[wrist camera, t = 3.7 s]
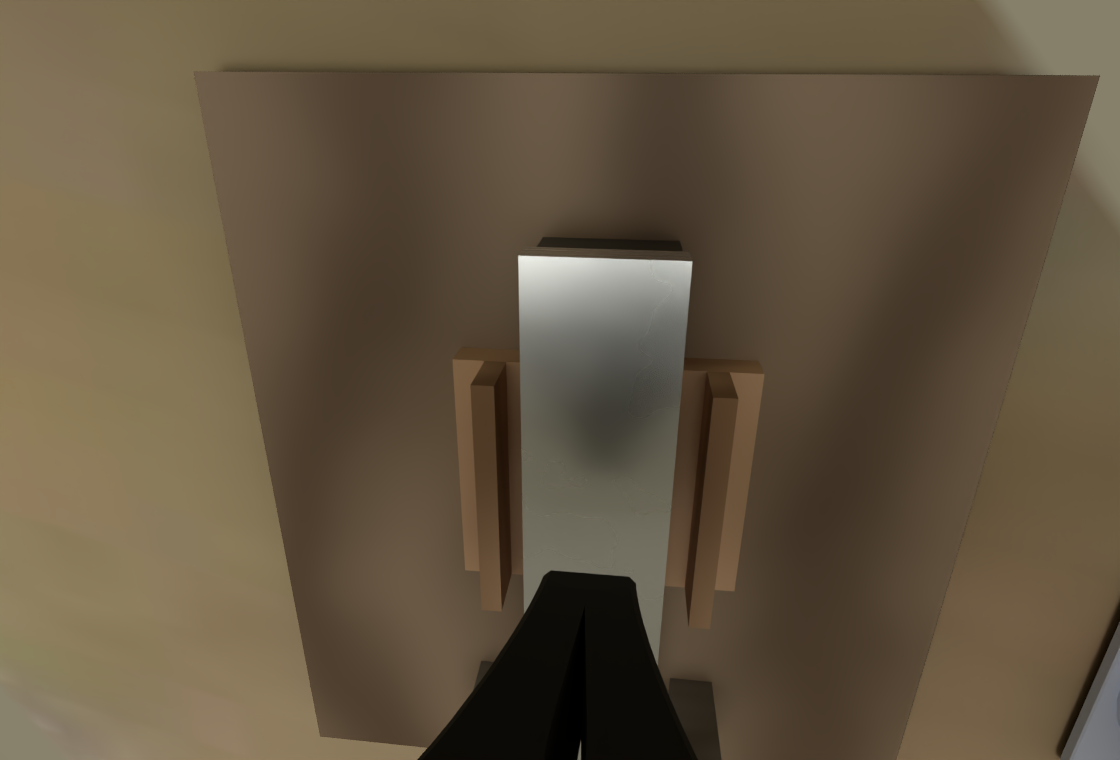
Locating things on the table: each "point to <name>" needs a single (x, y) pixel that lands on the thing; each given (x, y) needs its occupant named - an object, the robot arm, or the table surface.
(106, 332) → the table surface
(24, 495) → the table surface
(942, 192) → the strap board
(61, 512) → the table surface
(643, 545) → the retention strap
